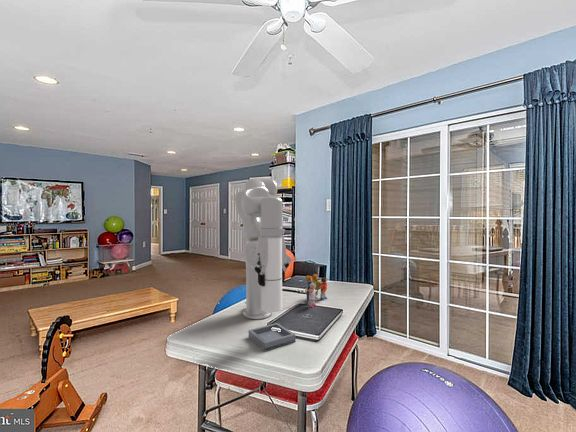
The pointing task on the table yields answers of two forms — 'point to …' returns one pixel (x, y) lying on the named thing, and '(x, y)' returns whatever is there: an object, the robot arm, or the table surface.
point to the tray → (271, 336)
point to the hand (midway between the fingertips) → (271, 283)
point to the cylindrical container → (273, 277)
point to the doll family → (315, 289)
